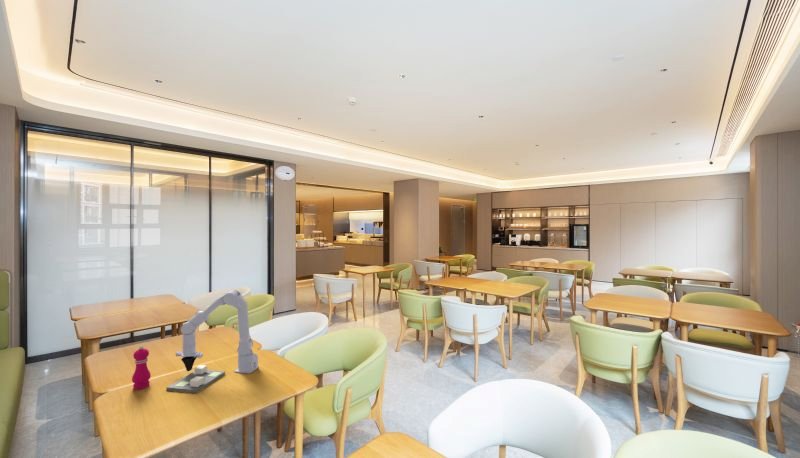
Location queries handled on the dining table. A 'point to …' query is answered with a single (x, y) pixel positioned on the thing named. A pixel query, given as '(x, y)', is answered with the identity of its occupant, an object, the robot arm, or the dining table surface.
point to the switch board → (184, 383)
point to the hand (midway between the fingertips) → (189, 370)
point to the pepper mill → (141, 369)
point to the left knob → (196, 381)
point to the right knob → (201, 369)
